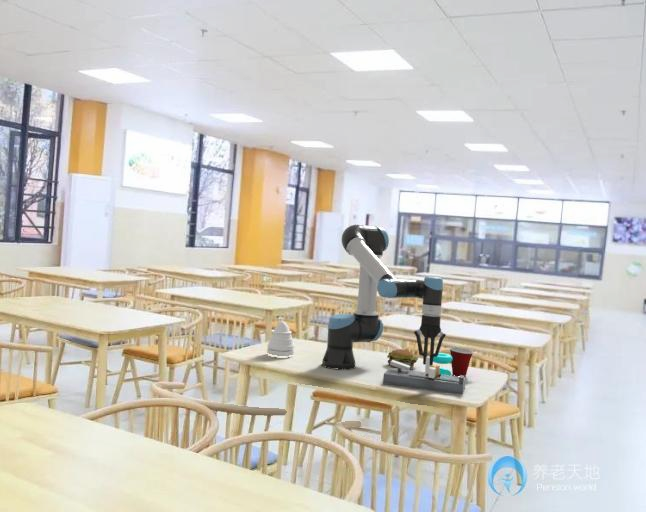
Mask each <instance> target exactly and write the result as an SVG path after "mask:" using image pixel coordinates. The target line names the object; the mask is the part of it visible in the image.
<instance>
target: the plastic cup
mask: <svg viewBox="0 0 646 512" xmlns="http://www.w3.org/2000/svg"><path fill="white" fill-rule="evenodd" d="M449 353H450V355H451V356H452V358H453V360H452V361H451V362H450V363H451V370H452V371H451V374H452V376H454V375H455V376H460V375H463V376H465V377H466V376H467V373H468V369H469V366H470V361H471V358H472V356H473V354H474V351H473V350H471V349H469V348H463V347H457V346H451V347H449Z"/></svg>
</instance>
